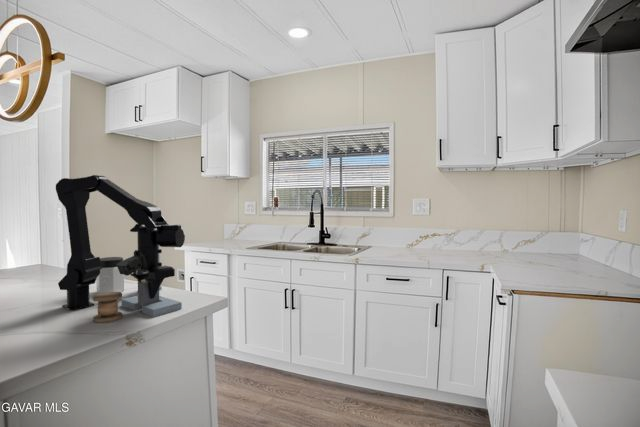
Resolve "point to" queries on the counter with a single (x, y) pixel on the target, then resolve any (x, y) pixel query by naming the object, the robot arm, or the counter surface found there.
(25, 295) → the counter surface
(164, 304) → the notched board
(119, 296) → the bobbin
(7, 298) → the counter surface
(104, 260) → the jar
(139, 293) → the grey block
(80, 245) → the robot arm
